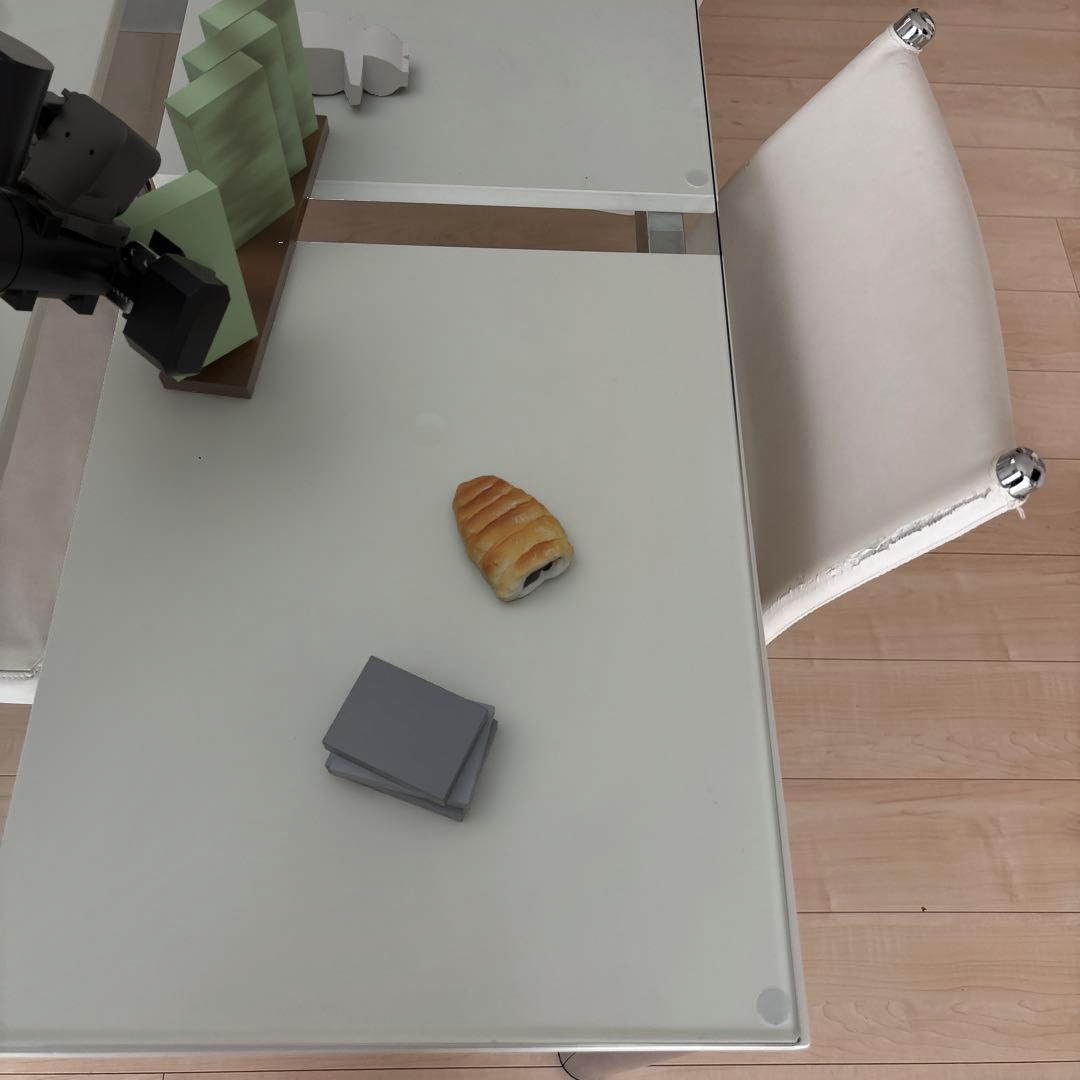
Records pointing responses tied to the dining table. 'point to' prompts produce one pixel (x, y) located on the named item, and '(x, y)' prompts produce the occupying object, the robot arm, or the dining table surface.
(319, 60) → the white curved block
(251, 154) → the brown wooden book rack
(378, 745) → the grey books
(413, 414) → the dining table surface
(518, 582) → the pastry
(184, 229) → the green book
